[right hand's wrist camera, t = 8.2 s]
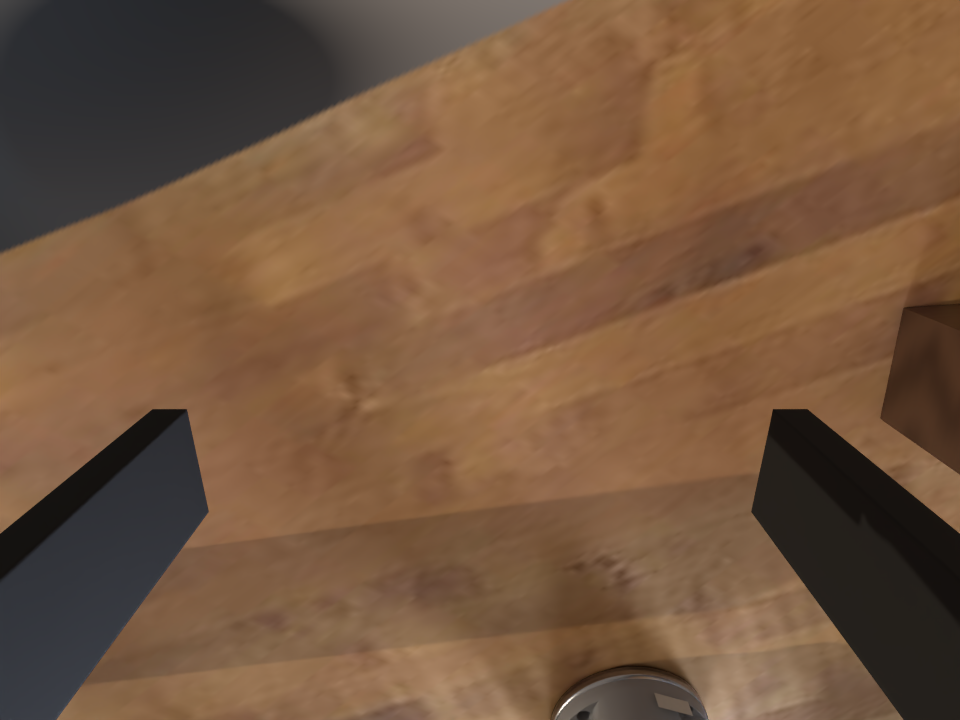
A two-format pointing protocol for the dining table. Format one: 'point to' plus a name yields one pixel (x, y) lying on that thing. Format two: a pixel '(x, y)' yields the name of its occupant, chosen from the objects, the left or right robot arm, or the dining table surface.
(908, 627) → the right robot arm
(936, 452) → the walnut beam
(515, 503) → the dining table surface
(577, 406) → the dining table surface
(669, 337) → the dining table surface
